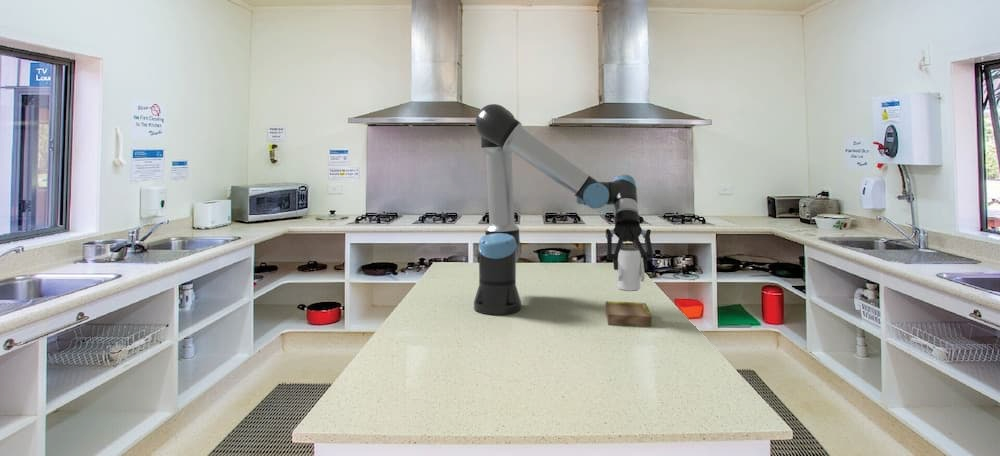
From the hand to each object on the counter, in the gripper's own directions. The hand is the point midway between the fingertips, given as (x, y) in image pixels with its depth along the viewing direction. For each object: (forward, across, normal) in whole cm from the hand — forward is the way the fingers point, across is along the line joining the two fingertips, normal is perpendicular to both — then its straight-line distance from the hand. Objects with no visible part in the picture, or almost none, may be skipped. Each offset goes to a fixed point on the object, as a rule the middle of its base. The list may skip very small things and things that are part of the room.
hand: (631, 278), depth 143 cm
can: (0, 0, -6) cm, 6 cm away
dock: (+7, 0, -12) cm, 14 cm away
